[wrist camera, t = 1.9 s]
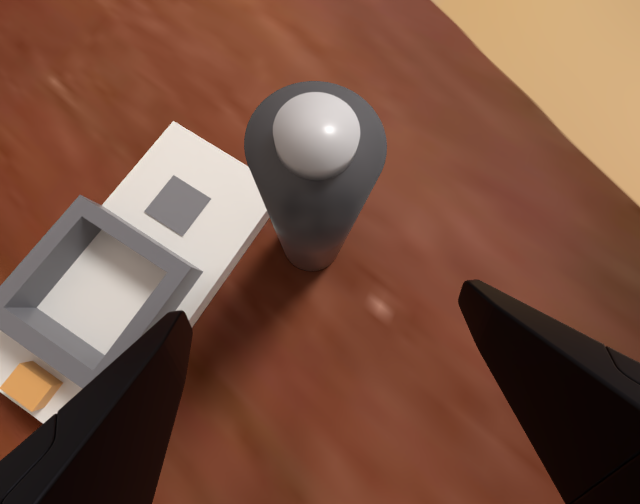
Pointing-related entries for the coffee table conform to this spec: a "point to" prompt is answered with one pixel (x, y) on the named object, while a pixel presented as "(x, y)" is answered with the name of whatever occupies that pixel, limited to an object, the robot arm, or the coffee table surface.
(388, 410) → the coffee table surface
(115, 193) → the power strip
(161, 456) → the robot arm
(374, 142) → the joystick
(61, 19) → the coffee table surface
